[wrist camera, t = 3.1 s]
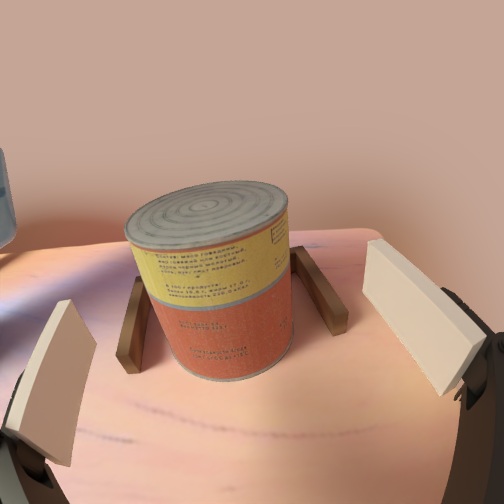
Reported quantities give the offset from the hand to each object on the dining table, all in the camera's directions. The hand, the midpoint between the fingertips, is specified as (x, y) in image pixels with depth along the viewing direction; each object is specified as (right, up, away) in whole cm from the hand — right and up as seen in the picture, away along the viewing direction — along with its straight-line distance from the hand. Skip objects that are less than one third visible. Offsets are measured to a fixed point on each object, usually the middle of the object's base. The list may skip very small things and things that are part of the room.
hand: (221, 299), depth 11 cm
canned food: (-1, -5, +13) cm, 14 cm away
